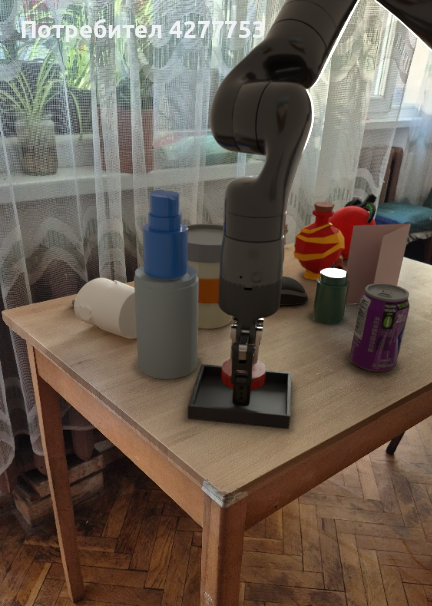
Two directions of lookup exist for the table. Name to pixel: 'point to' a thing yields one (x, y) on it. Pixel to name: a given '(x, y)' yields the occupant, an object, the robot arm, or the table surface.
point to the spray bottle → (166, 293)
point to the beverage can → (379, 327)
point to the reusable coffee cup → (207, 272)
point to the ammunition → (339, 263)
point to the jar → (331, 296)
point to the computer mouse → (292, 292)
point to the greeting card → (375, 257)
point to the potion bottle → (319, 242)
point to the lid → (258, 371)
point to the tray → (219, 405)
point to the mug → (108, 306)
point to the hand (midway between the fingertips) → (243, 390)
